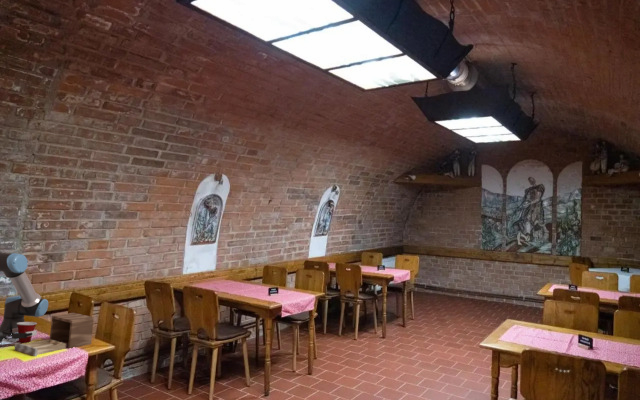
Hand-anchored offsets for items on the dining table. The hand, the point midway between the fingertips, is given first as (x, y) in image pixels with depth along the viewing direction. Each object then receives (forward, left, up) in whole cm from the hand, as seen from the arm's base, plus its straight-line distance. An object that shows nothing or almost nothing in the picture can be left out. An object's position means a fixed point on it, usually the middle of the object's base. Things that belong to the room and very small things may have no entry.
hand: (29, 331), depth 285 cm
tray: (+23, -6, -6) cm, 24 cm away
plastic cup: (0, -2, -7) cm, 7 cm away
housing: (+23, +12, -6) cm, 27 cm away
